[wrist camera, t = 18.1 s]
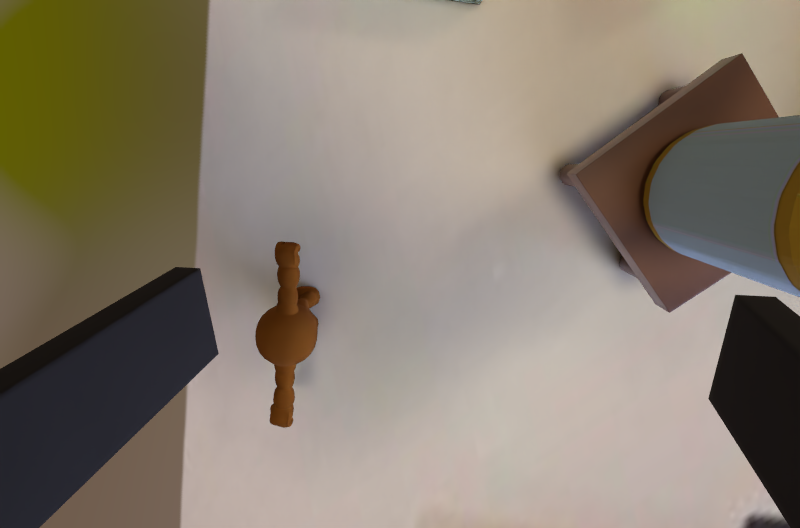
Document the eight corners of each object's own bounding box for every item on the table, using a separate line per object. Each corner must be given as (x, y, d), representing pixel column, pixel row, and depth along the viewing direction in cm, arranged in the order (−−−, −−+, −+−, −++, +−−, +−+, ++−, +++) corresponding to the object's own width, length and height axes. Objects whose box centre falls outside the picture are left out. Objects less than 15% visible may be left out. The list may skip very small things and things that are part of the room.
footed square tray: (544, 171, 31) (575, 174, 25) (676, 73, 29) (742, 52, 23) (623, 285, 32) (669, 313, 27) (751, 198, 31) (831, 208, 25)
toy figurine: (282, 224, 32) (248, 242, 25) (334, 229, 32) (315, 249, 25) (277, 381, 35) (245, 433, 28) (325, 385, 35) (305, 439, 28)
